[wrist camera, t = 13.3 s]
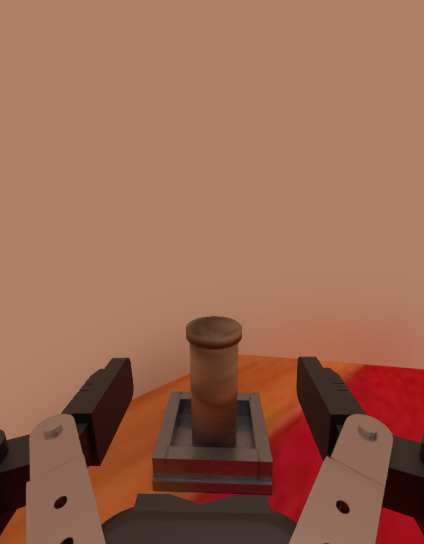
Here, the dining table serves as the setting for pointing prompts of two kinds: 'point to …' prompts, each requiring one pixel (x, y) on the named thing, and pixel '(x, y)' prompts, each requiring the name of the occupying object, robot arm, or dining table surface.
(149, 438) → the dining table surface
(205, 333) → the brown capped cylinder
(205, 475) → the grey square tray
